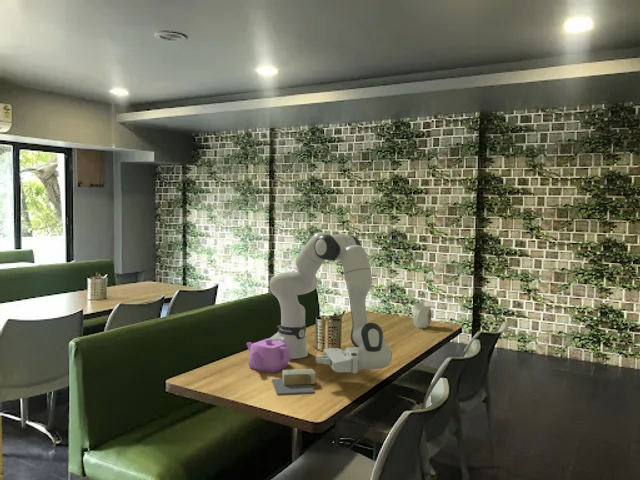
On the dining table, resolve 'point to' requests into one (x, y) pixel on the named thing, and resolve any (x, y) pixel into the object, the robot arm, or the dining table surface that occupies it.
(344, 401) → the dining table surface
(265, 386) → the dining table surface
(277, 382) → the mat
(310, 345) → the dining table surface
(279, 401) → the dining table surface
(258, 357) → the teakettle
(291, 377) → the skincare box
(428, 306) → the pitcher
